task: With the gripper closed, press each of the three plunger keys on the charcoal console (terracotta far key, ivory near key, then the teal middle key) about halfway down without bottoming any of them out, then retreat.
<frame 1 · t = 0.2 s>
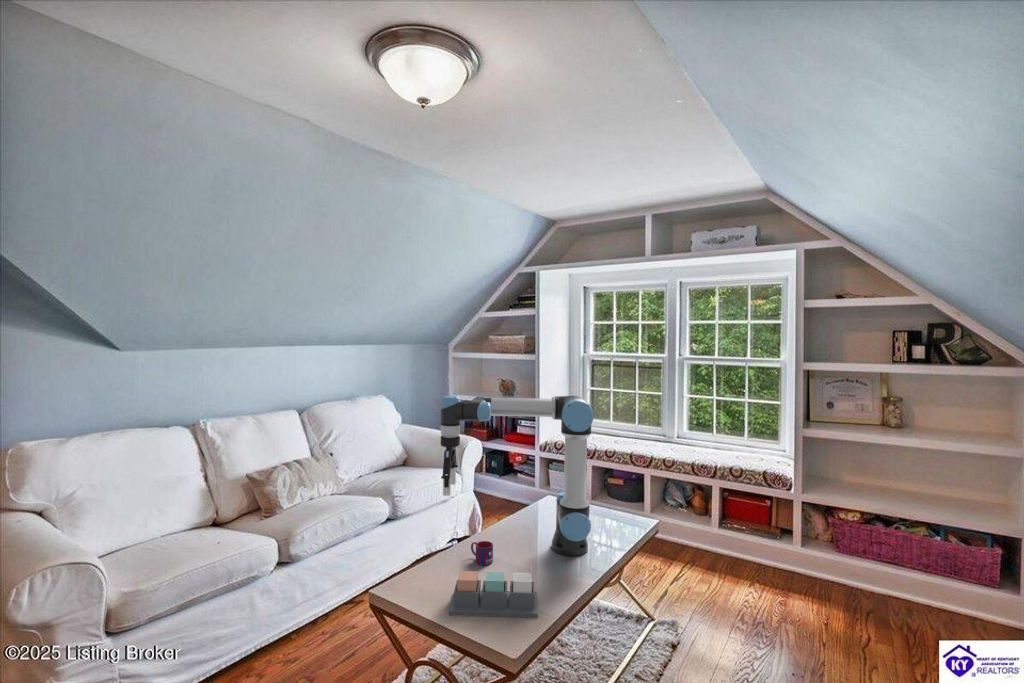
hand: (449, 489, 188), 28 cm above the table, fingers open, 13 cm apart
mug: (481, 561, 189), on the table
teal key: (494, 584, 158), point 7 cm above the table, slide at 0.0 cm
console: (494, 604, 158), on the table
terracotta key: (467, 583, 158), point 7 cm above the table, slide at 0.0 cm
ivory key: (522, 585, 158), point 7 cm above the table, slide at 0.0 cm
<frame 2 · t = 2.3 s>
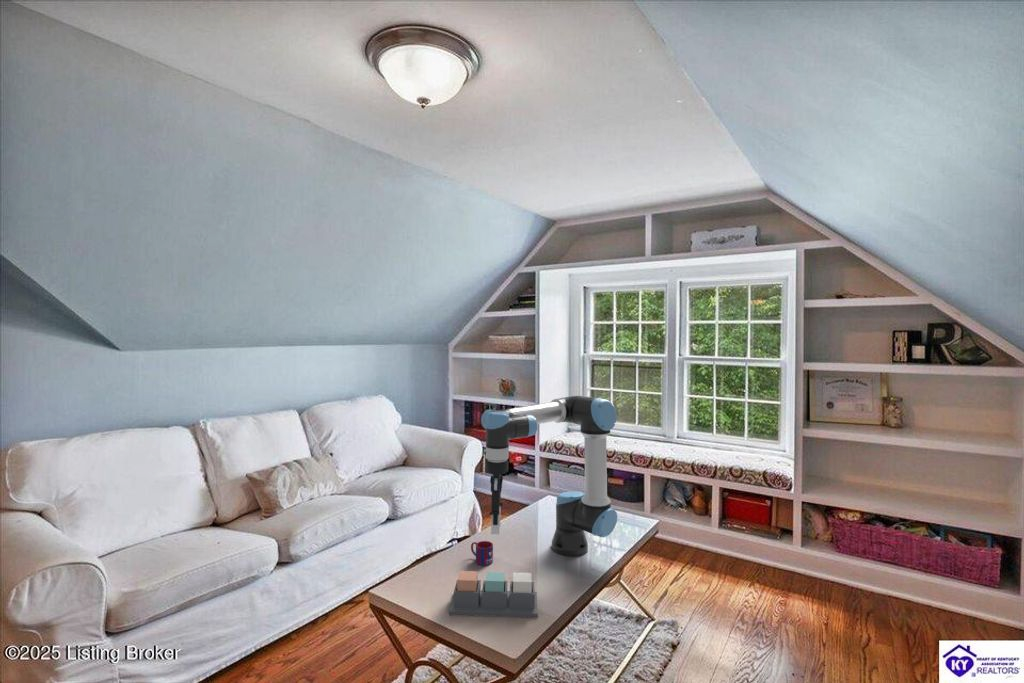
hand: (495, 529, 158), 25 cm above the table, fingers open, 6 cm apart
nothing on the table moved.
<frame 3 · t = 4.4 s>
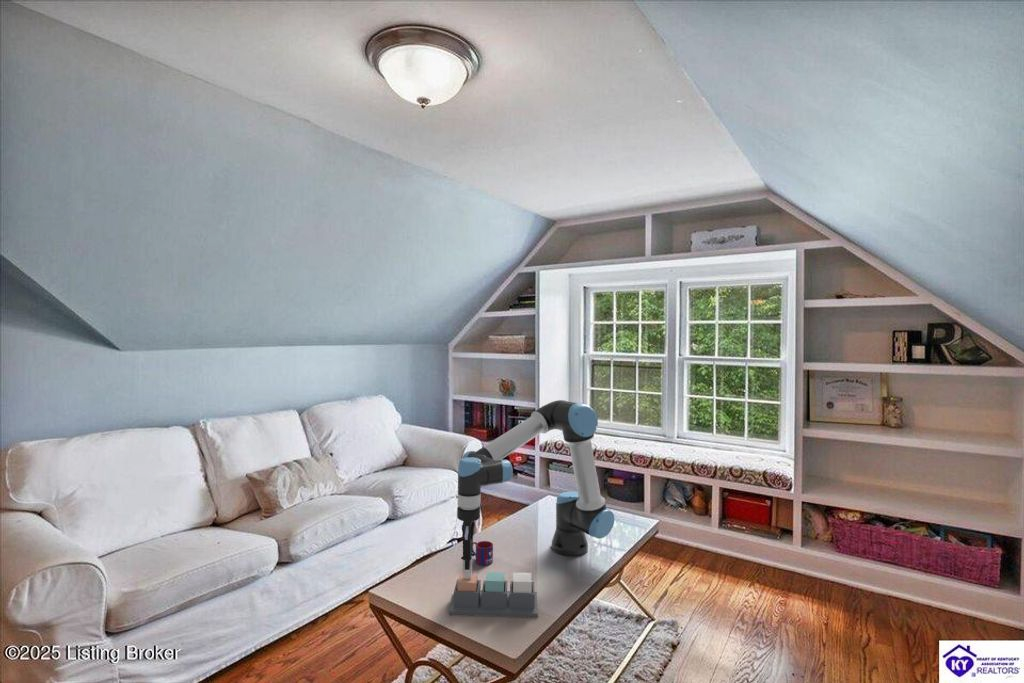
hand: (467, 577, 158), 9 cm above the table, fingers closed
terracotta key: (467, 585, 158), point 6 cm above the table, slide at -0.8 cm, touching gripper
everything else where it was.
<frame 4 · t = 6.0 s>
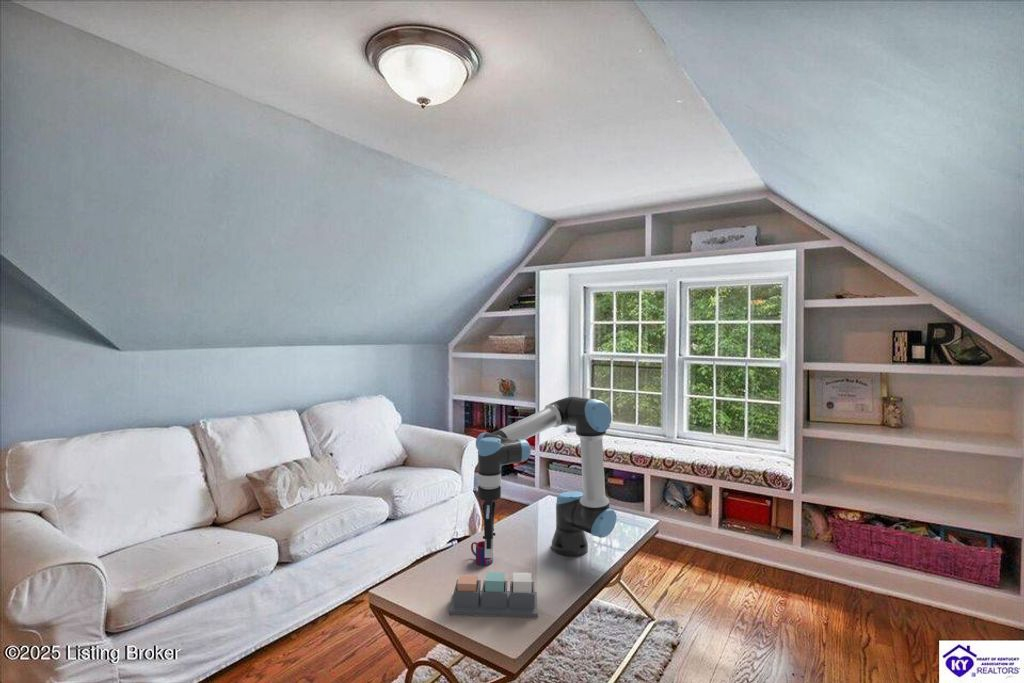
hand: (489, 556, 158), 16 cm above the table, fingers closed
terracotta key: (467, 587, 158), point 6 cm above the table, slide at -1.2 cm
everything else where it was.
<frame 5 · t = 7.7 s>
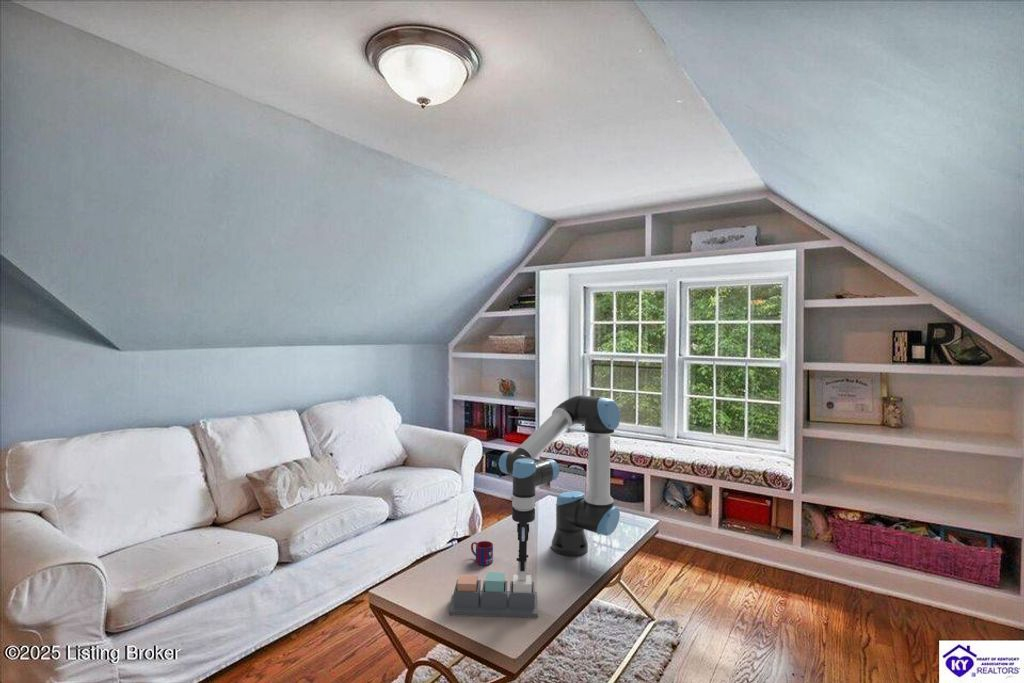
hand: (522, 578, 158), 9 cm above the table, fingers closed
ivory key: (522, 587, 158), point 6 cm above the table, slide at -0.8 cm, touching gripper
everything else where it was.
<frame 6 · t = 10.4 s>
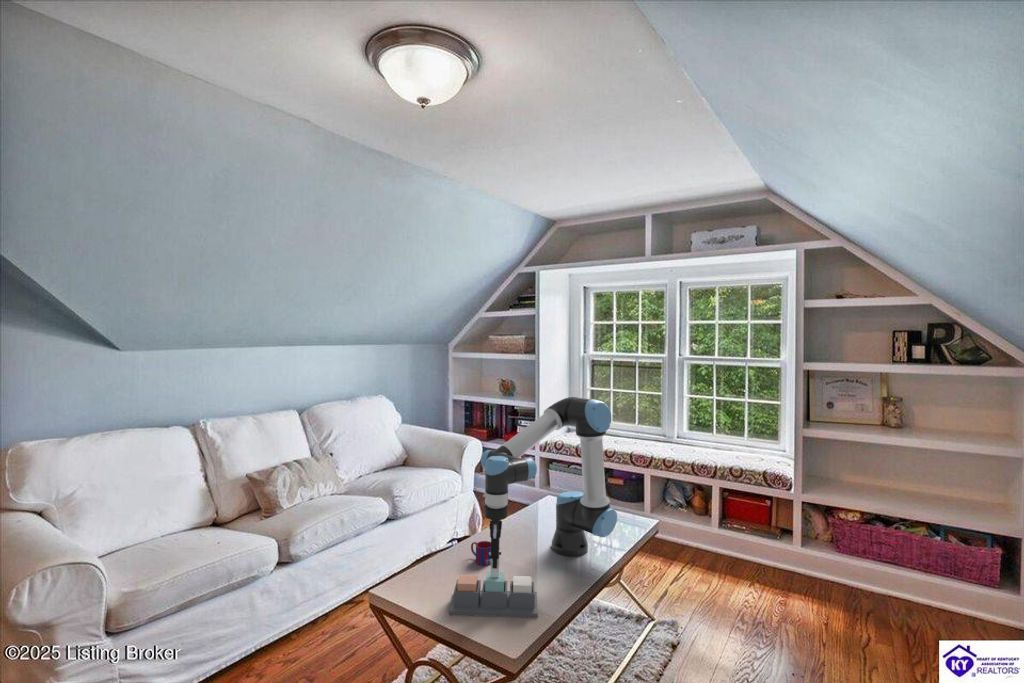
hand: (494, 576, 158), 10 cm above the table, fingers closed
teal key: (494, 584, 158), point 7 cm above the table, slide at -0.1 cm, touching gripper
ivory key: (522, 588, 158), point 6 cm above the table, slide at -1.2 cm
everything else where it was.
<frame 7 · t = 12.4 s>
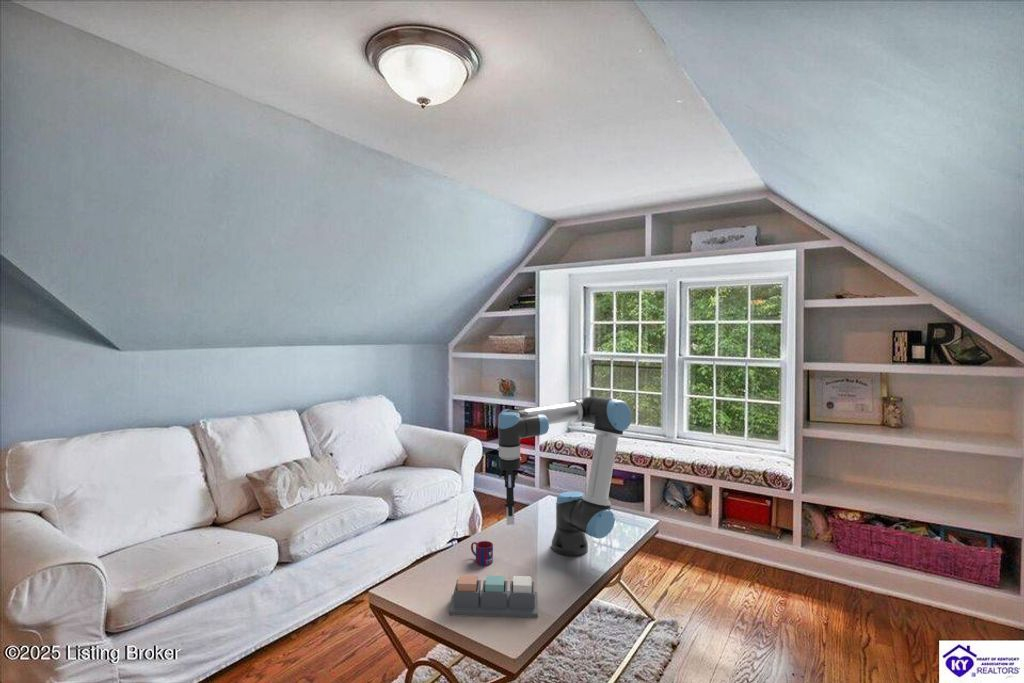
hand: (510, 523, 168), 23 cm above the table, fingers closed
teal key: (494, 587, 158), point 6 cm above the table, slide at -1.2 cm
everything else where it was.
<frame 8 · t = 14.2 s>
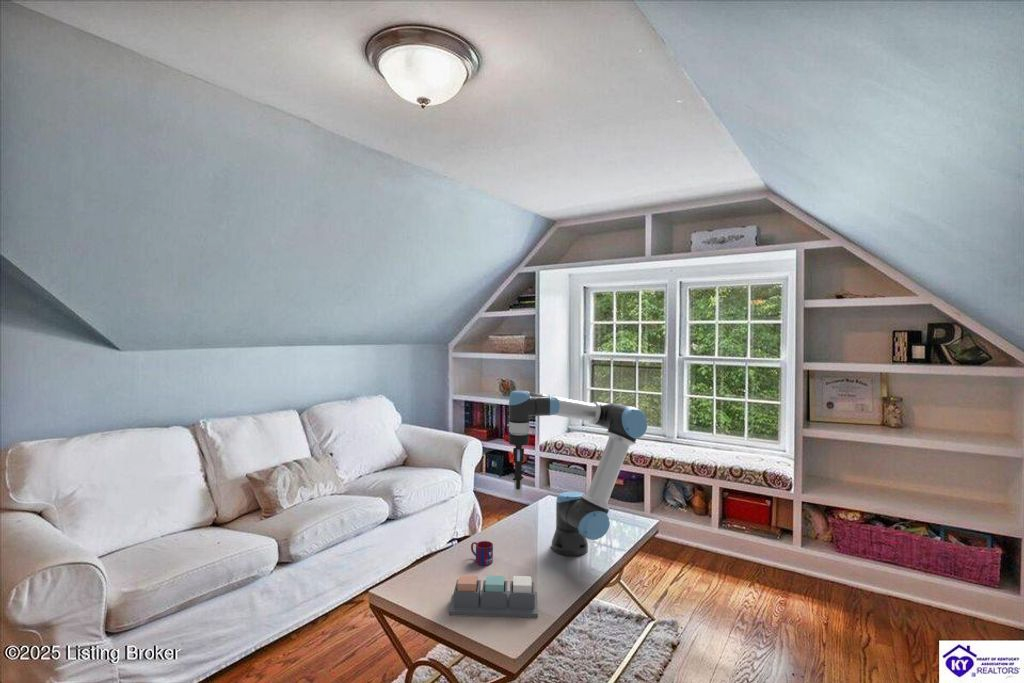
hand: (517, 497, 176), 29 cm above the table, fingers closed
nothing on the table moved.
at the end: terracotta key slide at -1.2 cm; ivory key slide at -1.2 cm; teal key slide at -1.2 cm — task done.
